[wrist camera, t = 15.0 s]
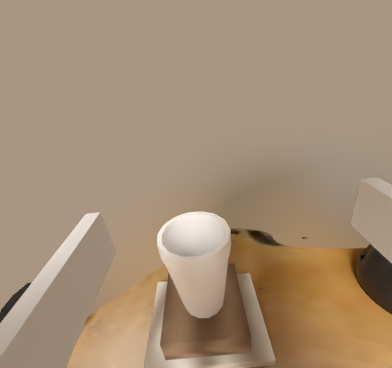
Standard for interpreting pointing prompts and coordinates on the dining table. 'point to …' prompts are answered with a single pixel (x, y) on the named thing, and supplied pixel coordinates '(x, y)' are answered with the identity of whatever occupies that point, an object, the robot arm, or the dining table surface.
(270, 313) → the dining table surface
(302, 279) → the dining table surface
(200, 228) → the foam cup
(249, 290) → the build base
